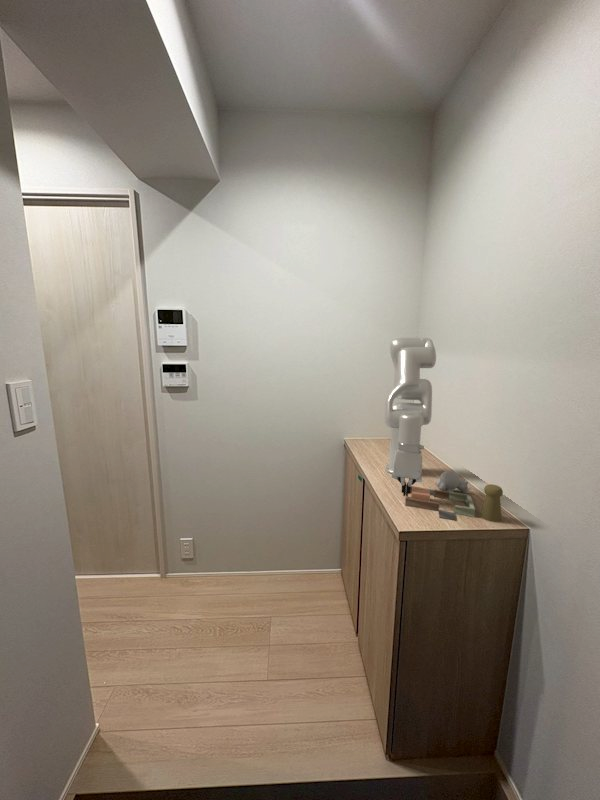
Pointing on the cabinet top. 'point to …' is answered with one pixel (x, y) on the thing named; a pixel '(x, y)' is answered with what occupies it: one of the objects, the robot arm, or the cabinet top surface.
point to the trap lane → (446, 495)
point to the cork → (492, 503)
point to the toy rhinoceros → (452, 482)
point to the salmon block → (420, 493)
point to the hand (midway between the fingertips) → (405, 494)
